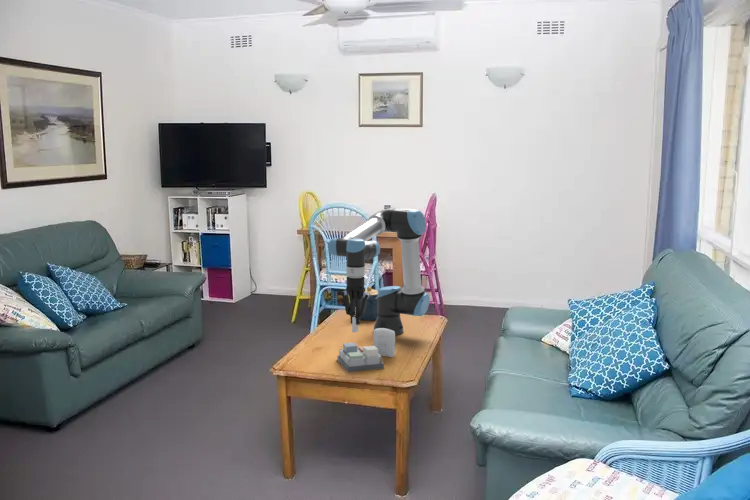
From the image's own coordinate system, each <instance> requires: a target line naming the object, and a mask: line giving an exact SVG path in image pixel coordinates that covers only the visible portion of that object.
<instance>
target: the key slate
mask: <svg viewBox="0 0 750 500" xmlns="http://www.w3.org/2000/svg"><path fill="white" fill-rule="evenodd" d="M357 348H358V345H357V343H355V342H346V343H345V342H344V343H343V344H342V349H343V351H344V353H345V354H348V353H350V352H357Z"/></svg>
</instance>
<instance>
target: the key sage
mask: <svg viewBox="0 0 750 500" xmlns="http://www.w3.org/2000/svg"><path fill="white" fill-rule="evenodd" d="M348 357H349V358H350V359H355V358H362V354H361V353H360V352H350V353H348Z"/></svg>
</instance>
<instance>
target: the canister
mask: <svg viewBox="0 0 750 500" xmlns="http://www.w3.org/2000/svg"><path fill="white" fill-rule="evenodd" d="M365 292H366V293H367V294H370V297H369V299H368V302H367V306H366V310H365V314H364V315H363V316H360V320H363V321H376V319H377V304H378V298H377V297H378V290H377V289H374V288H372V286H367V287H366V288H365ZM363 296H364V294H363ZM363 296H362V297H361V306H362V301H363V298H364V297H363Z"/></svg>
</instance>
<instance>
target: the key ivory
mask: <svg viewBox="0 0 750 500" xmlns="http://www.w3.org/2000/svg"><path fill="white" fill-rule="evenodd" d="M365 346H366V347H363V355H365V356H366V357H376V356H378V349H377V348H376V347H375V346H373V345H365Z"/></svg>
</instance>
